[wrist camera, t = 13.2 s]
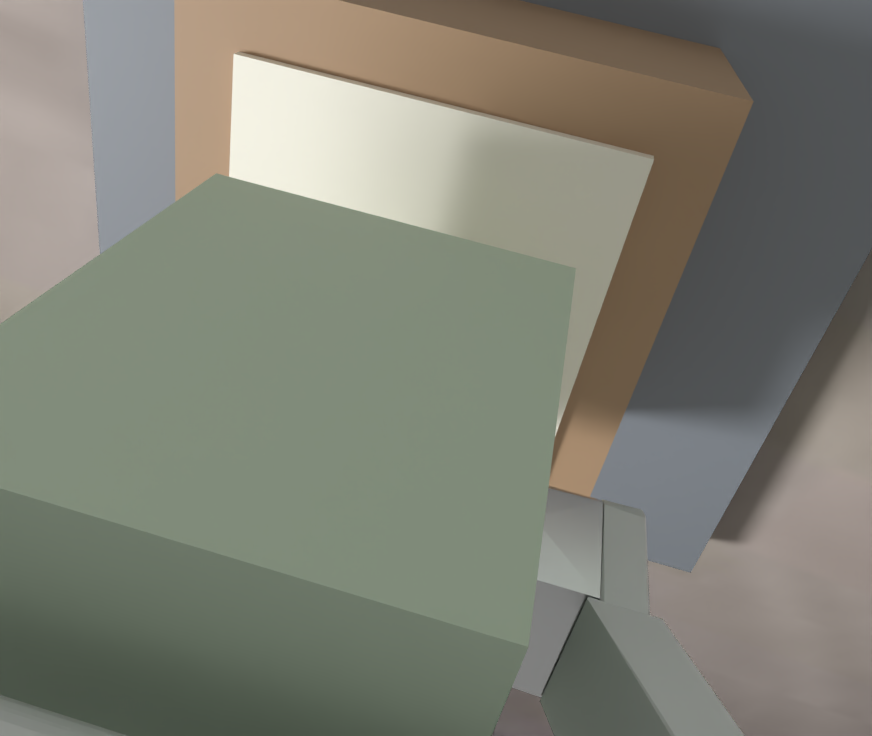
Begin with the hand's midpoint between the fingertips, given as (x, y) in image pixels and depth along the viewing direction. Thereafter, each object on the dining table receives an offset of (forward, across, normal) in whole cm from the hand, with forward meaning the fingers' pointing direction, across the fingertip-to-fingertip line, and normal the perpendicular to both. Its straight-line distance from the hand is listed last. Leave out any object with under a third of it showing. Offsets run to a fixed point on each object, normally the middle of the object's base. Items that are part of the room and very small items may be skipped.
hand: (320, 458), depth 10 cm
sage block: (+2, 0, 0) cm, 2 cm away
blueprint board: (+11, 0, 0) cm, 11 cm away
